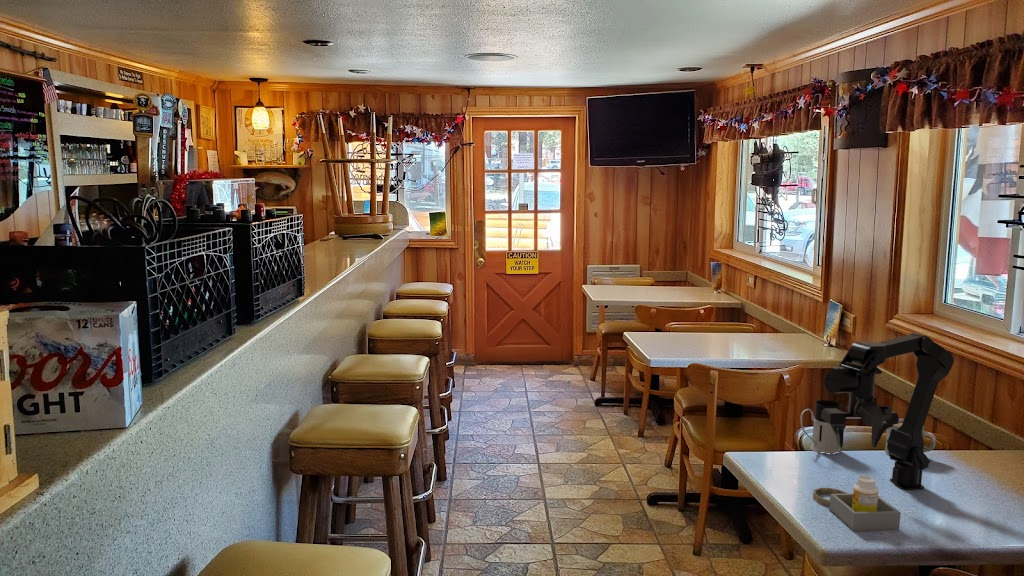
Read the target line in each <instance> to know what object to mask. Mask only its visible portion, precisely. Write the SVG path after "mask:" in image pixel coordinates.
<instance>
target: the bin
mask: <svg viewBox="0 0 1024 576" xmlns="http://www.w3.org/2000/svg"><path fill="white" fill-rule="evenodd" d="M829 500H830V507H829V512H830V513H832V514H833V515H834V516H835V517H836V518H837V519H838V520H839V521H841V522H842V523H843V524H844V525H845V526H846V527H847V528H849V530H850V531H852V532H879V531H880V532H881V531H883V532H884V531H885V532H886V531H900V527H901V526H900V525H901V524H900V523H901V514H902V513H901V511H899V510H898V509H897V508H896V507H894V506H893V505H891V504H890V503H889V502H887V501H886V500H885V499H883V498H882V497H881V496H880V495H878V502H877V512H855V511H854V510H853V509H852V503H853V492H851V493H848V492H847V493H846V494H830V498H829Z"/></svg>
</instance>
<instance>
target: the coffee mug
mask: <svg viewBox="0 0 1024 576" xmlns="http://www.w3.org/2000/svg"><path fill="white" fill-rule="evenodd" d="M903 421H904V418H899V424H893V425H894V426H893V427H889V428H888V429H886V436H885V450H884V453H885V452H886V453H887V454H888V455H887V454H886V453H885V454H886V455H887V456H889V451H888V449H887V444H888V442H887V440H888V439H889V436H890V432H891V430H892V429H895V430H897V429H898V428H899V427H900V426H902V424H903ZM924 428H925V426H923V429H922V436H923V440H925V438H927V437H928V438H929V439H930V445H928V446H926V445H925V444H924V447H923V453H924V454H925V453H927V452H932V451H933V450H934V449H935V447H936V445H937V439H936V436H935V435H934V433H932V432H929V431H925V429H924Z"/></svg>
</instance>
